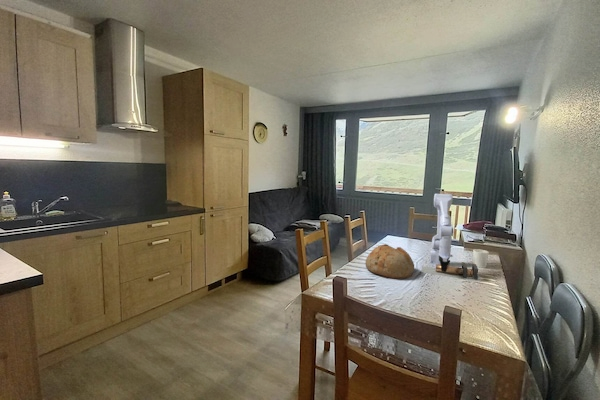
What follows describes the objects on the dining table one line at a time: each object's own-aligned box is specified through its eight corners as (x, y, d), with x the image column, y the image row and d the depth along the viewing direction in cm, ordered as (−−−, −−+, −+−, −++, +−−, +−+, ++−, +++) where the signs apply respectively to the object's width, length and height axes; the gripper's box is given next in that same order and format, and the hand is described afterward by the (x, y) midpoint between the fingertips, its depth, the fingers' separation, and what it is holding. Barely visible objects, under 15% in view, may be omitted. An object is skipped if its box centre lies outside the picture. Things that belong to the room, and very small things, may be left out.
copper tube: (435, 272, 158) (436, 265, 157) (435, 269, 161) (436, 263, 161) (472, 277, 150) (473, 270, 150) (471, 275, 154) (472, 268, 153)
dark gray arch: (463, 278, 150) (464, 267, 149) (461, 272, 158) (462, 262, 157) (466, 278, 149) (467, 267, 149) (464, 272, 158) (465, 262, 157)
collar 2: (474, 279, 148) (474, 268, 147) (471, 273, 156) (472, 263, 155) (477, 280, 147) (478, 269, 147) (474, 274, 156) (475, 263, 155)
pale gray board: (421, 273, 158) (421, 272, 158) (421, 267, 168) (421, 266, 168) (481, 282, 146) (481, 281, 146) (477, 275, 156) (478, 274, 156)
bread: (358, 270, 162) (359, 245, 160) (378, 261, 178) (379, 238, 176) (401, 284, 143) (403, 256, 141) (420, 272, 159) (421, 247, 158)
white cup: (489, 269, 164) (491, 253, 163) (474, 268, 166) (476, 252, 164) (483, 265, 172) (485, 249, 170) (469, 264, 173) (471, 248, 172)
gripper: (454, 251, 148) (452, 275, 150) (452, 244, 161) (450, 266, 163) (439, 249, 151) (437, 273, 153) (438, 242, 164) (437, 264, 166)
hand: (443, 269), depth 158 cm, fingers closed on copper tube, 4 cm apart
